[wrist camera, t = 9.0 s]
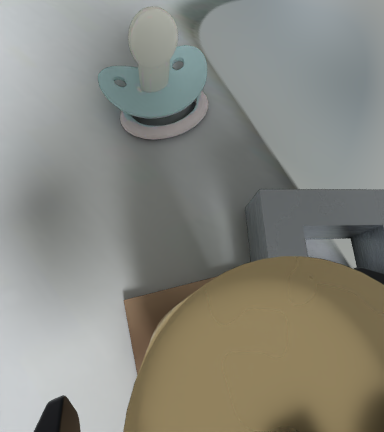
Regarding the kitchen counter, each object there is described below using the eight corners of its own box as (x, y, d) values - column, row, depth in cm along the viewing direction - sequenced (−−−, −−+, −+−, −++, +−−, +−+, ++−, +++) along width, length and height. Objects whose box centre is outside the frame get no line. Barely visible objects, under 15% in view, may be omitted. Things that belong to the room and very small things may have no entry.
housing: (409, 350, 18) (456, 356, 15) (261, 360, 17) (281, 368, 14) (373, 207, 21) (407, 189, 18) (245, 208, 20) (259, 189, 17)
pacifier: (223, 123, 22) (187, 60, 23) (248, 54, 16) (198, -26, 17) (128, 158, 20) (95, 87, 22) (117, 95, 14) (73, 4, 16)
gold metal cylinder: (264, 363, 16) (568, 493, 4) (185, 431, 15) (298, 903, 3) (209, 282, 17) (325, 199, 5) (130, 337, 16) (45, 395, 4)
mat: (278, 398, 16) (282, 400, 16) (150, 442, 15) (150, 446, 15) (240, 271, 18) (242, 269, 18) (124, 300, 17) (123, 300, 17)
